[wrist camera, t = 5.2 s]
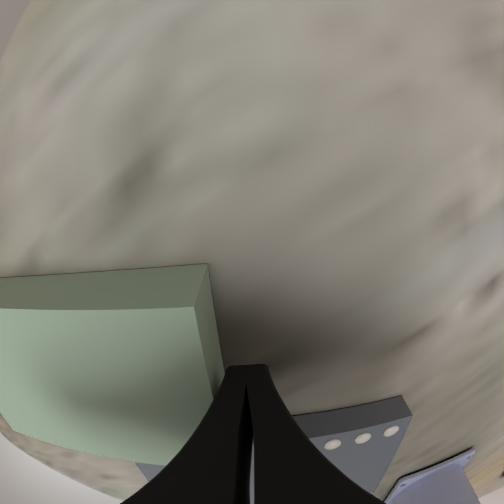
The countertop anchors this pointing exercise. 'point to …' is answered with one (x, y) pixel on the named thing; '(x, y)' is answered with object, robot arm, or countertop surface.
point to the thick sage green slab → (110, 359)
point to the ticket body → (347, 440)
